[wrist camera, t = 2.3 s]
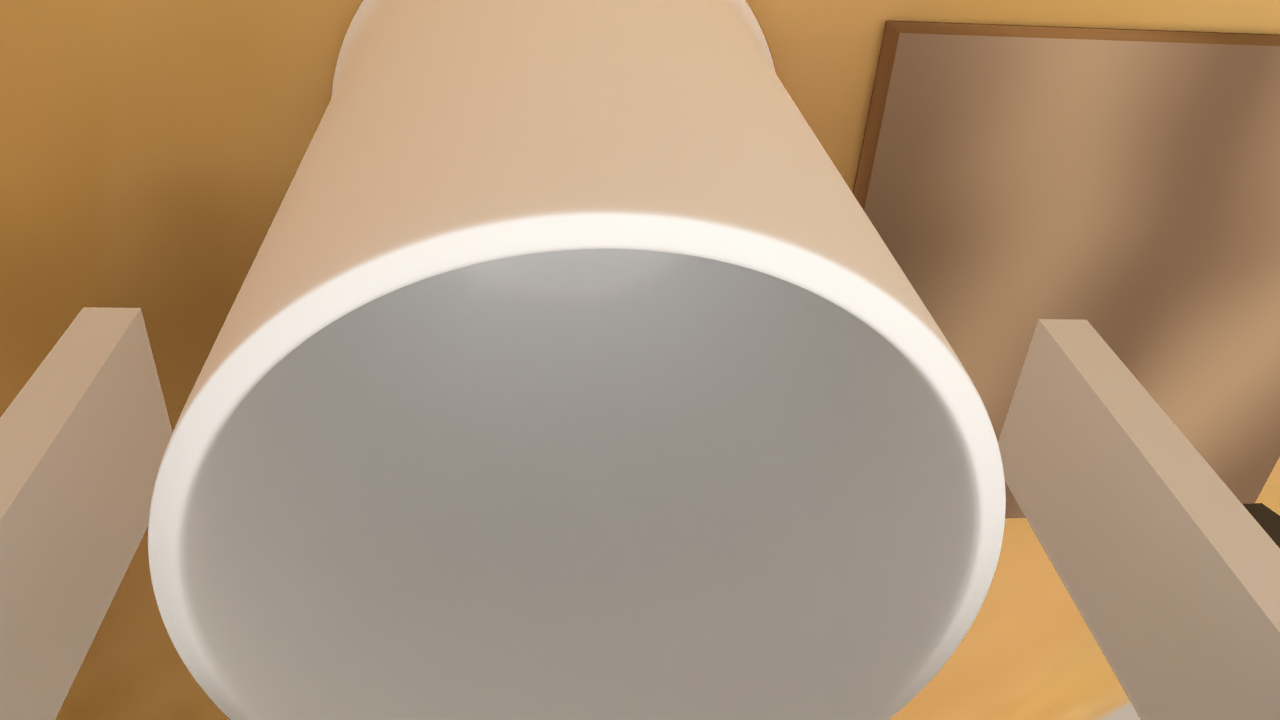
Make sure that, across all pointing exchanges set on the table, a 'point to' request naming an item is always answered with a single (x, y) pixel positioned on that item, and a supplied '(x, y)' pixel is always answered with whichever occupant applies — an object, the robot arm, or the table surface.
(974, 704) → the table surface
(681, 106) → the mug
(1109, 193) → the walnut coaster
